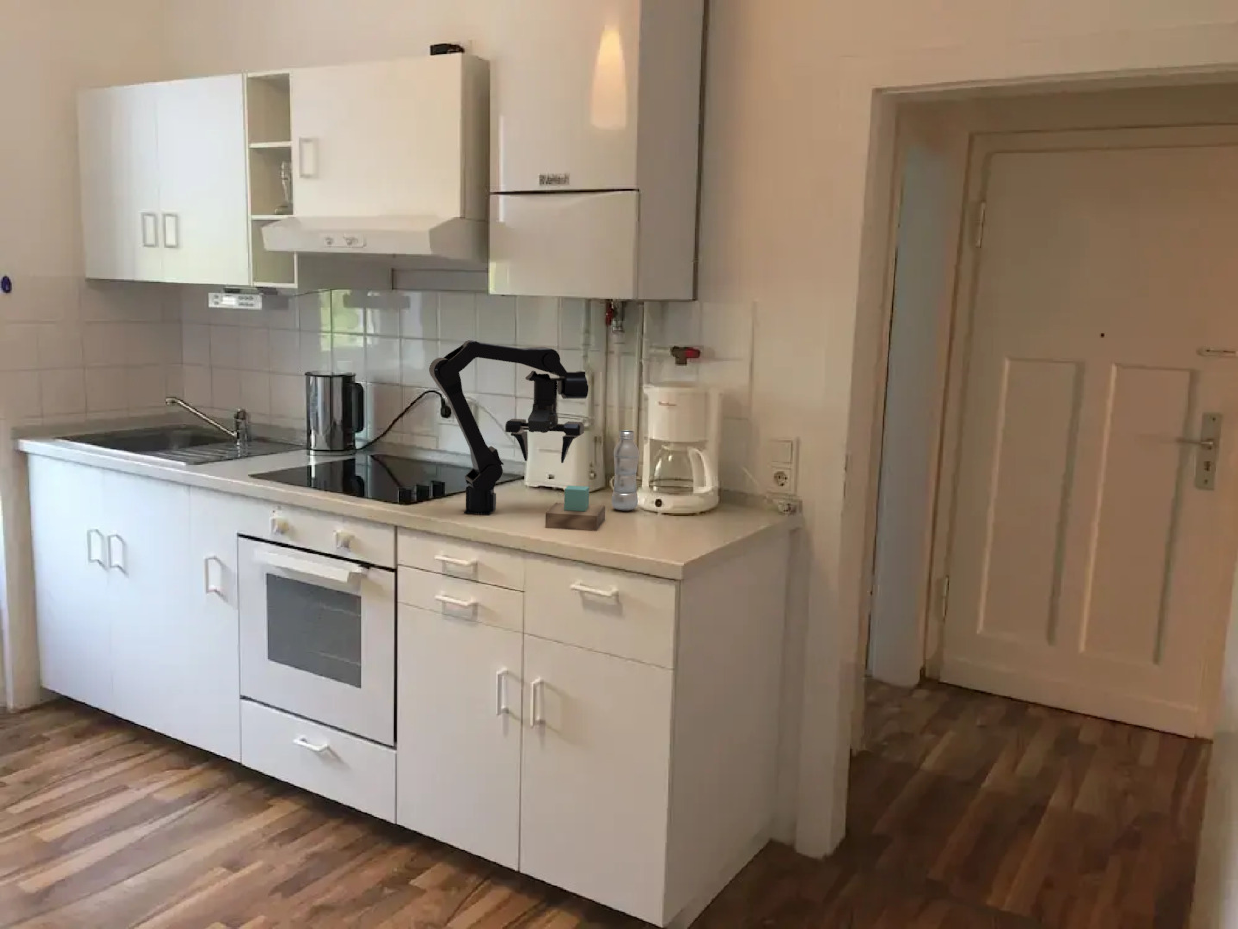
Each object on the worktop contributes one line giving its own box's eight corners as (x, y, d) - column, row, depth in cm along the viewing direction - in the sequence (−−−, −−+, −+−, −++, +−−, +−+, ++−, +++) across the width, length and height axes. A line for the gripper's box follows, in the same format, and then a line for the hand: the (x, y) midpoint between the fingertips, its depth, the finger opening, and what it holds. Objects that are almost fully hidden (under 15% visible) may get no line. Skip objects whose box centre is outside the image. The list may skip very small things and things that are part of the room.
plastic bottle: (622, 506, 267) (624, 428, 264) (643, 510, 263) (645, 431, 260) (605, 510, 262) (607, 431, 259) (626, 514, 258) (629, 434, 255)
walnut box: (545, 529, 241) (545, 512, 241) (555, 518, 253) (556, 502, 252) (596, 533, 240) (596, 516, 239) (604, 521, 251) (605, 505, 251)
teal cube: (564, 510, 244) (564, 489, 243) (567, 506, 249) (568, 485, 248) (585, 511, 243) (585, 490, 242) (588, 507, 248) (589, 486, 247)
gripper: (499, 400, 250) (498, 464, 253) (576, 404, 247) (574, 469, 250) (511, 396, 261) (510, 457, 264) (585, 399, 258) (583, 461, 261)
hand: (544, 461), depth 259 cm, fingers open, 9 cm apart
